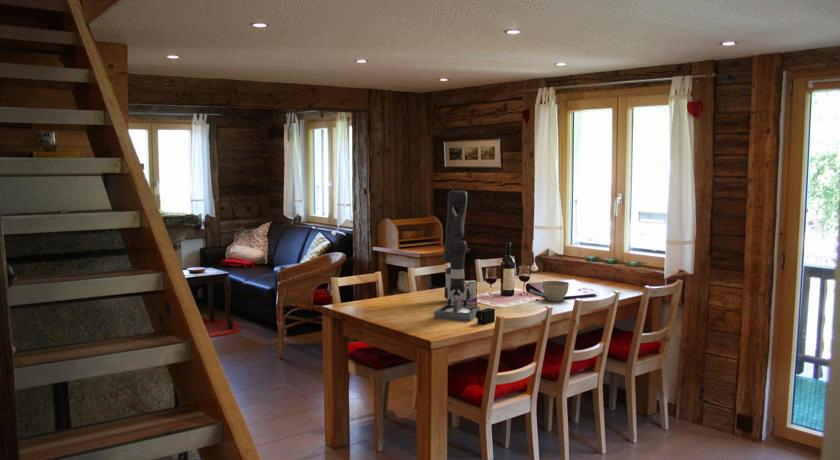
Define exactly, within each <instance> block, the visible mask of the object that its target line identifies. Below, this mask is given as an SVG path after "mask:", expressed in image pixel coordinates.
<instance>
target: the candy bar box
mask: <svg viewBox="0 0 840 460" xmlns="http://www.w3.org/2000/svg"><path fill="white" fill-rule="evenodd" d="M477 282H478V281H476V280H464V287H465V288H470V296H471V298H470V299H467V306H477V307H478V283H477ZM464 293H465V295H466V297H467V292H466V290H465V291H464ZM457 298H461V299H462V306H464V299H463V297H462V296H461V295H460V296H458V295H457Z"/></svg>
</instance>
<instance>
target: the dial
mask: <svg viewBox="0 0 840 460" xmlns="http://www.w3.org/2000/svg"><path fill="white" fill-rule="evenodd" d="M452 305H453V308H450V309H446V310H445V312H458V313H469V312H470V310H469V309H464V308H462V299H461V298H457V299H456V300H454V301H453V303H452Z"/></svg>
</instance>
